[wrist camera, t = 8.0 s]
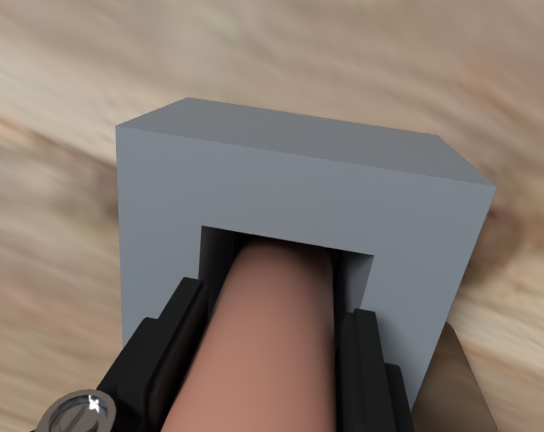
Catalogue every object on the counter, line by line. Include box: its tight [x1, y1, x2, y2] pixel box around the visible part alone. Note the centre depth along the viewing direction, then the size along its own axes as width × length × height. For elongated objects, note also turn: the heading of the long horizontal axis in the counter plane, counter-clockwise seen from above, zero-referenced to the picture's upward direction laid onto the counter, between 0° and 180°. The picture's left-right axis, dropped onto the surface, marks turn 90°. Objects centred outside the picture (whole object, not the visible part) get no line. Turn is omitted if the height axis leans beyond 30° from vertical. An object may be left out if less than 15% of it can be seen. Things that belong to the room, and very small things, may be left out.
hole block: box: [116, 97, 497, 412], centre depth 15 cm, size 10×10×6 cm
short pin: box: [411, 321, 497, 432], centre depth 17 cm, size 4×4×5 cm
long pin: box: [161, 234, 337, 432], centre depth 10 cm, size 4×4×11 cm
